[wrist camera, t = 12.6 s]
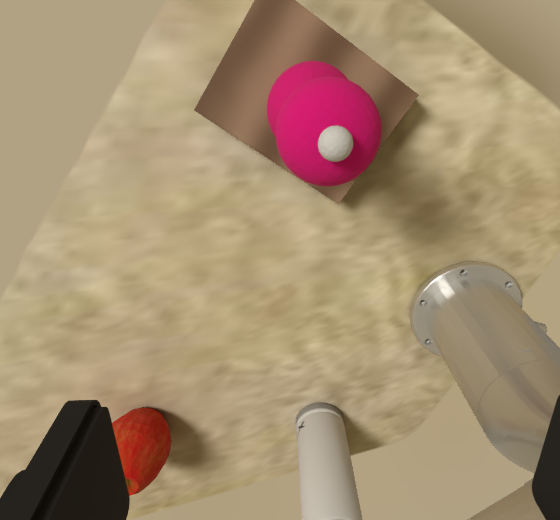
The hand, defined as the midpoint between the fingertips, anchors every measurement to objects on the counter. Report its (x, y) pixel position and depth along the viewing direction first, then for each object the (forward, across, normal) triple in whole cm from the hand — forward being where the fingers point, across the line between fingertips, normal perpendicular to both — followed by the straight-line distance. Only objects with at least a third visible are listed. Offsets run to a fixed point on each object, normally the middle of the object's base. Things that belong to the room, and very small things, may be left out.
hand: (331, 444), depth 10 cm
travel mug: (+39, -4, +37) cm, 54 cm away
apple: (+38, +19, +36) cm, 56 cm away
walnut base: (+38, -2, -3) cm, 38 cm away
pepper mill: (+35, -2, -3) cm, 35 cm away
